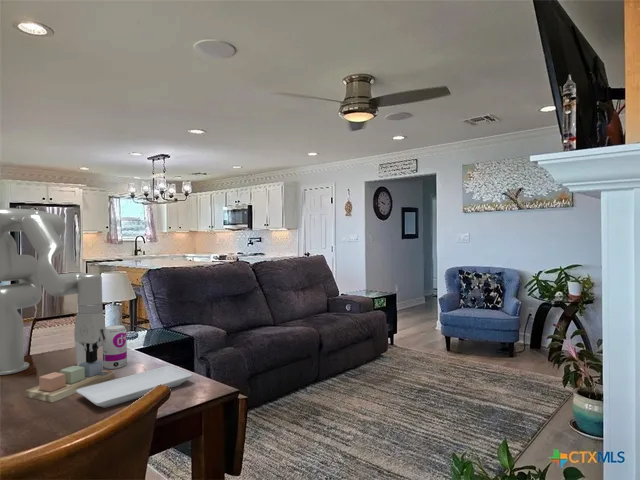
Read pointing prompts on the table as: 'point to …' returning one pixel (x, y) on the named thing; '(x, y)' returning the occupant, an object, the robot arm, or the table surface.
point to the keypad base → (68, 387)
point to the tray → (132, 386)
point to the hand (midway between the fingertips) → (91, 361)
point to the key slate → (92, 368)
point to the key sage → (73, 374)
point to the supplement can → (115, 347)
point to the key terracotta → (52, 381)
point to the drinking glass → (79, 352)
